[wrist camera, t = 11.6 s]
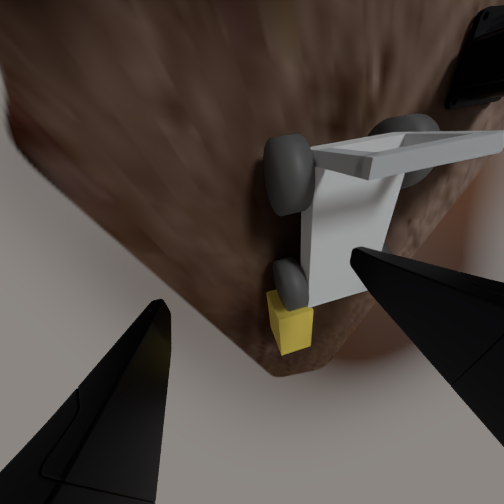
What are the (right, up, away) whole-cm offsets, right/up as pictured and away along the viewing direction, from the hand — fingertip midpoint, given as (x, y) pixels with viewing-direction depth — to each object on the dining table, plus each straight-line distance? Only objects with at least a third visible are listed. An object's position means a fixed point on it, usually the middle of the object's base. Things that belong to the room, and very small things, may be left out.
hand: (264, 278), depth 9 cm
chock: (+4, -7, +20) cm, 22 cm away
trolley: (+7, +5, +13) cm, 16 cm away
